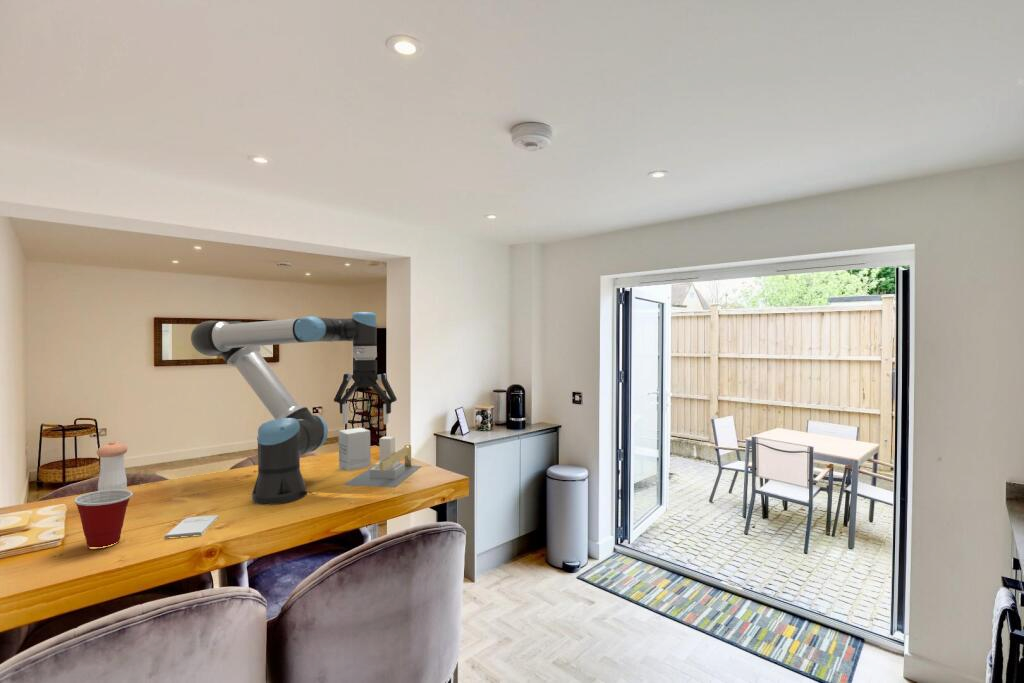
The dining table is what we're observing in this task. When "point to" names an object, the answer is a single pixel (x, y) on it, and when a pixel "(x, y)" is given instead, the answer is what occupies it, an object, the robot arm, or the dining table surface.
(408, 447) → the clip
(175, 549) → the dining table surface
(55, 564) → the dining table surface
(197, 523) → the external hard drive
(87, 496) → the plastic cup
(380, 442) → the plug
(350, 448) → the supplement box
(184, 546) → the dining table surface
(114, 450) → the pepper shaker
